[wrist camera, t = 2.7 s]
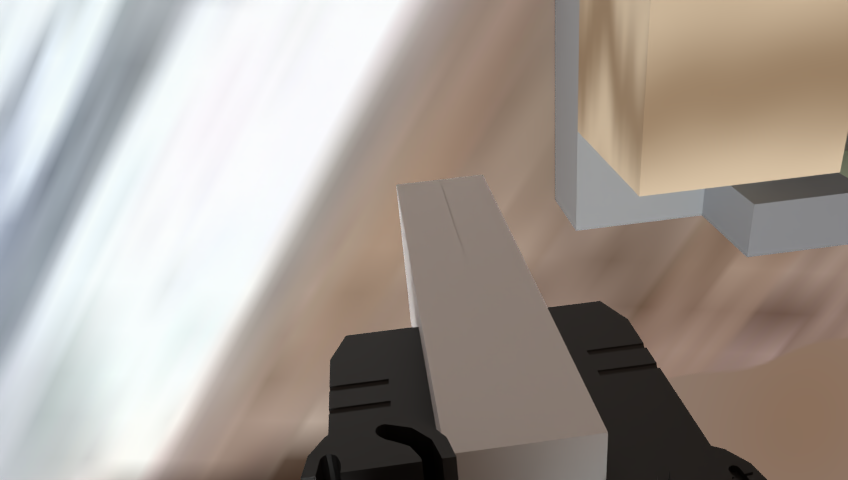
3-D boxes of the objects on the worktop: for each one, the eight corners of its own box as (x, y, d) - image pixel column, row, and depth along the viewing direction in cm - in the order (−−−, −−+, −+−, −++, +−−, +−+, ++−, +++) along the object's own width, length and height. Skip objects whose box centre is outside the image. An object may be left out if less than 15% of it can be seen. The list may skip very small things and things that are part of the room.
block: (580, -47, 23) (652, -25, 18) (759, -65, 24) (881, -48, 18) (577, 131, 26) (639, 196, 21) (738, 112, 26) (840, 172, 21)
